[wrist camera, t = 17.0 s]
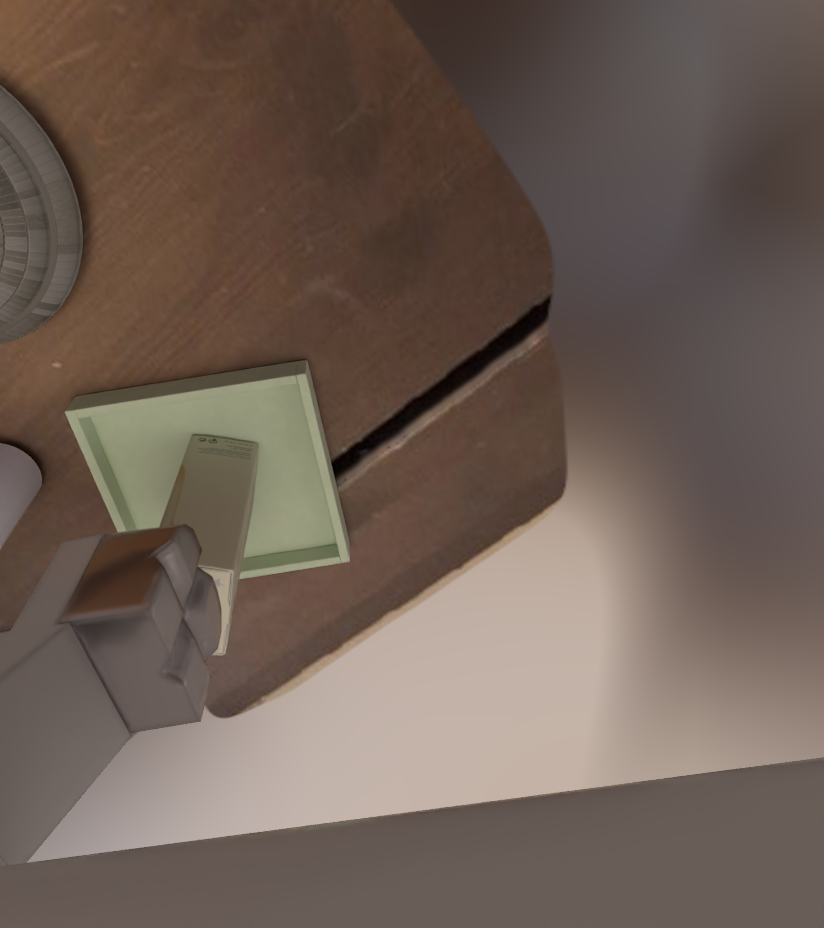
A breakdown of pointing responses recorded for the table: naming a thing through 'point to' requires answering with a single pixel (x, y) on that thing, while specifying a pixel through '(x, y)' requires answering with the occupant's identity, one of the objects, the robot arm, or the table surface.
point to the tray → (230, 417)
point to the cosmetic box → (217, 511)
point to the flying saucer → (33, 224)
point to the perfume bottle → (16, 487)
